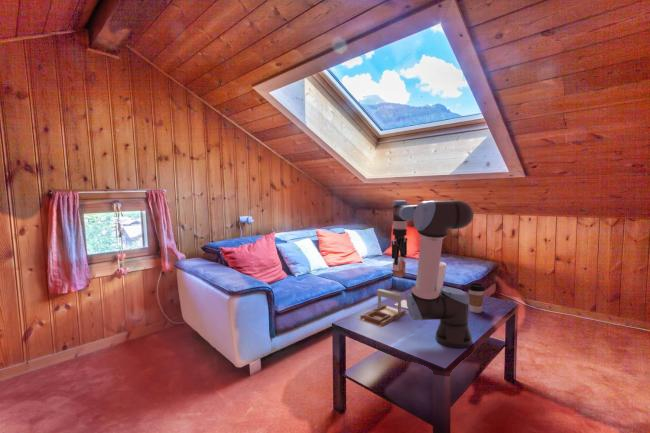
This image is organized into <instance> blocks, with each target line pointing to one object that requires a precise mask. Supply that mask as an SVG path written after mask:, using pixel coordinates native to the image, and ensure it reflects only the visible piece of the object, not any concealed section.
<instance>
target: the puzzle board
mask: <svg viewBox="0 0 650 433" xmlns="http://www.w3.org/2000/svg"><path fill="white" fill-rule="evenodd" d="M408 313H409V311H407V309H406V310H405V309H401V313H398V308H395V307H392V306H388V305H387V304H383V305H382V304H381V307H380V308H379V307H378V306H377V307H376V308H374V309H371V310H369V311H367V312H366V313H363V314H361V315H360V316H359V317H360V318H358V319H357V320H358V321H362V322H363V323H367V324H370V325H372V326H375V327H378V328H383V327H384V326H386V325H387V324H390V323H391V322H393V321H395V320H396V319H398V318H400V317H402V316H404V315H406V314H408Z"/></svg>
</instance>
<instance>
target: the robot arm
mask: <svg viewBox="0 0 650 433" xmlns="http://www.w3.org/2000/svg"><path fill="white" fill-rule="evenodd" d="M392 202H393V203H392V236H394V238H393V240H391V241H390V243H391V259H393V260H394V261H393V262H394V270H396V271H399V261H404V262H405V258H406V257H407V256H408V237H407V238H406V237H405V236H407V232H408V230H407V224H408V222H407V221H411V220H413V226H414V228H415V229H416V231H417V234H419V236H420V242H419V251H418V252H419V253H418V263H417V270H416V272H417V273H416V281H415V285H414V286H413V287H412V288H411V292H408V293H407V294H406V297H405V300H406V302H407V307H408V309H407V312H408V313H409V316H410V317H411V319H412V320H415V321H429V320H439V323H438V327H437V329H436V331H435V340H436V341H437V342H438V343H439V344H441V345H442V346H445V347H449V348H452V349H466V348H469V347H471V346H472V344H473V338H472V334H471V331H470V328H469V308H470V304H469V294H467V292H465V290H464V291H463V290H461V289H458V288H455V287H449V286H448V287H443V286H442V288H441V290H440V292H439V291H438V289H437V281H438V273H439V265H440V262H441V256H442V246H443V240H444V239H445V238H446V237H448V233H449V230H460V229H463V228H465V227H467V226H469V225H470V224H471V222H473V220H474V216H475V214H474V213H475V212H474V209H473V207H472V206H471V205H470V204H469V203H467V202H465V201H461V200H424V201H420V202H419V203H418V204H408V203H407V202H408V201H406V200H400V199H399V200H393V201H392Z"/></svg>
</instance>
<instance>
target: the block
mask: <svg viewBox="0 0 650 433" xmlns="http://www.w3.org/2000/svg"><path fill="white" fill-rule="evenodd" d="M392 276H393V277H397V278H403V277H406V261H405V260H404V261H400V260H399V271H396V270H394V261H392Z"/></svg>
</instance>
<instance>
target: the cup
mask: <svg viewBox="0 0 650 433" xmlns="http://www.w3.org/2000/svg"><path fill="white" fill-rule="evenodd" d="M446 270H447V263H446V262H443V261H440V265H439V273H438V281H437V289H438V291H439V292H440V290H441V288H443V285H444V281H445V277H446Z"/></svg>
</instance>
